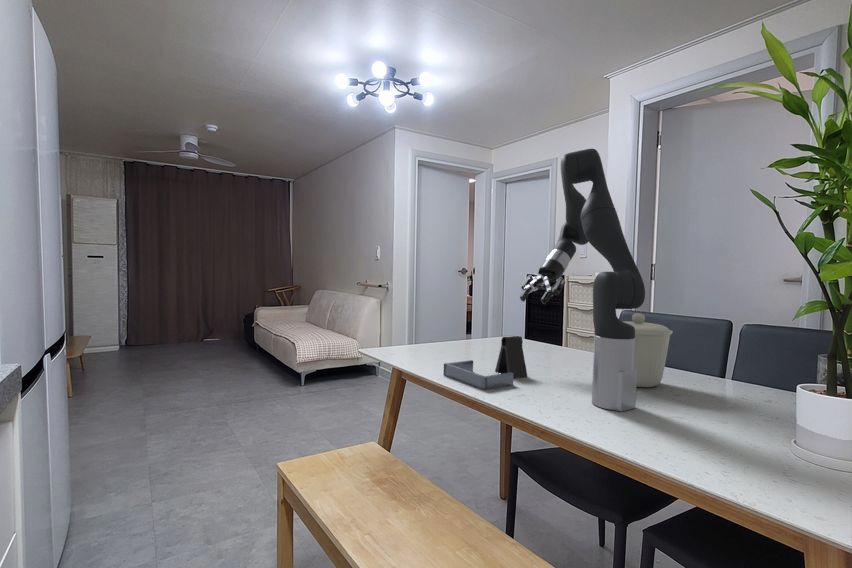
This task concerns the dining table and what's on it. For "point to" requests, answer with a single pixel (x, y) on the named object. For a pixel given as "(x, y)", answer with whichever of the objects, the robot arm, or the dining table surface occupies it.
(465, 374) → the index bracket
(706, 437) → the dining table surface
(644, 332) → the canister
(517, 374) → the black folding stand
